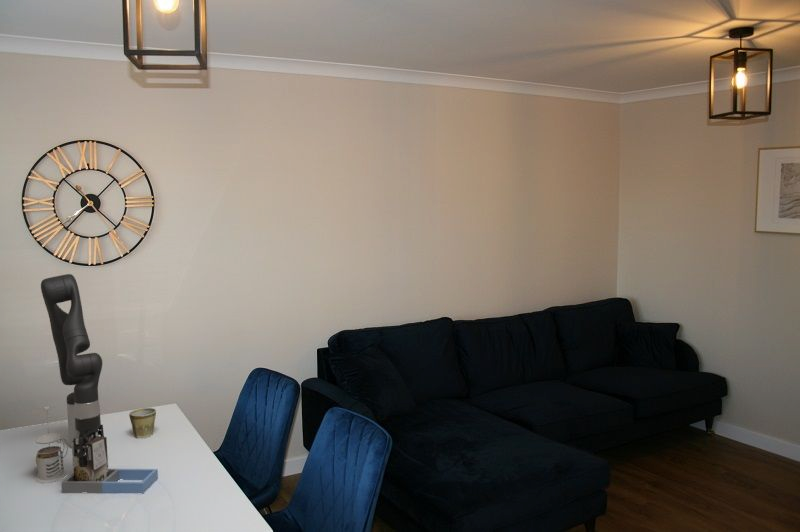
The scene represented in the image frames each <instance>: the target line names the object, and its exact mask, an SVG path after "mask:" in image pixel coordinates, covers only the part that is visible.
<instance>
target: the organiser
mask: <svg viewBox="0 0 800 532" xmlns="http://www.w3.org/2000/svg"><path fill="white" fill-rule="evenodd" d="M108 472H109V476H108V477H107V478H106V479H104V480H103V481H102V482H96V481H74V472H73V473H72V474H70V476H68V477H67V478H64V479H63V481H61V482H60V483H61V493H62V494H83V493H82V492H87V493H86V494H117V493H142V494H141V495H143V493H144V492H145V491H146V490H147V489H148V488H149V487H150V486H151V485H152V484H153V483H154V482H155V481H156V482H157V481H158V480H159V472H158V468H108ZM120 479H123V480H122V481H121V480H120ZM157 479H158V480H157ZM118 480H119V481H118ZM156 482H155V483H156ZM155 483H154V484H155ZM152 486H153V485H152ZM152 486H151V487H152ZM151 487H150V488H151ZM150 488H149V489H150ZM149 489H148V490H149ZM148 490H147V491H148ZM147 491H146V492H147ZM146 492H145V493H146ZM145 493H144V494H145Z"/></svg>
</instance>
